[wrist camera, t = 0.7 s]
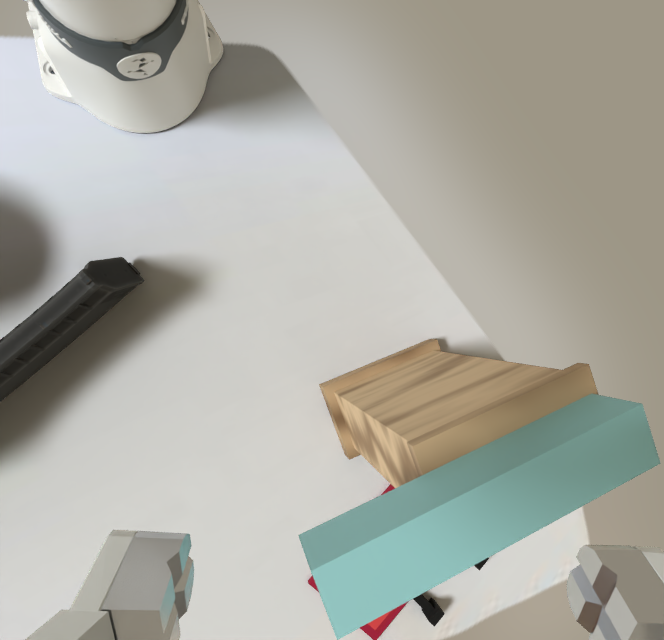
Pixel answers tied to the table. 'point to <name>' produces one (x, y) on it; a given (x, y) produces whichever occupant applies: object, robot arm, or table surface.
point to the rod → (474, 507)
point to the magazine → (63, 319)
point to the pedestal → (441, 406)
